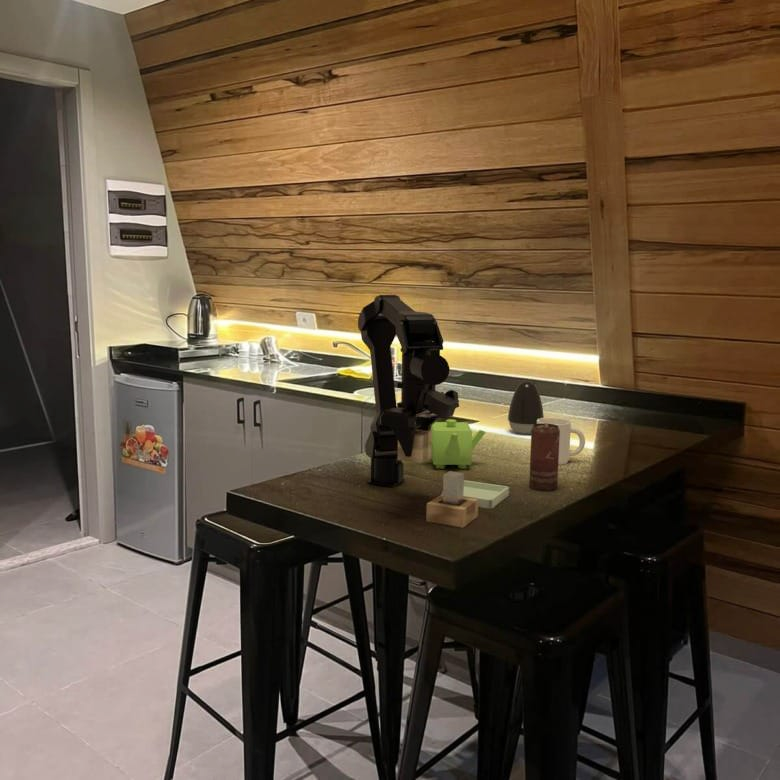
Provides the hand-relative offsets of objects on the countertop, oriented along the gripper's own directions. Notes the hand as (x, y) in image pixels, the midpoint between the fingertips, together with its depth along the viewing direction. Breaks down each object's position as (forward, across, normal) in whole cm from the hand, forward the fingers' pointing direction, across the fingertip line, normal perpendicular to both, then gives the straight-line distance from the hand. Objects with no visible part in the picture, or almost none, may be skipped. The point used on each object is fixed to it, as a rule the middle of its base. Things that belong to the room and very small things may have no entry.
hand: (414, 453), depth 161 cm
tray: (+11, +12, -9) cm, 18 cm away
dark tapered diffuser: (+11, +78, +5) cm, 79 cm away
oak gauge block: (+11, -3, -10) cm, 15 cm away
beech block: (+1, 0, 0) cm, 1 cm away
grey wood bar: (+11, -3, -10) cm, 15 cm away
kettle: (+11, +33, +8) cm, 36 cm away
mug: (+11, +51, -14) cm, 54 cm away
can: (+11, +27, -18) cm, 34 cm away
